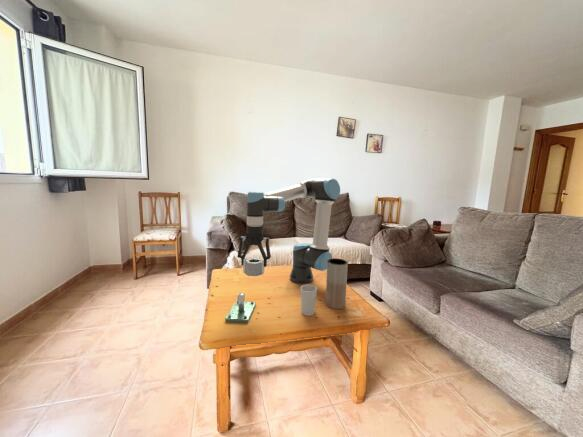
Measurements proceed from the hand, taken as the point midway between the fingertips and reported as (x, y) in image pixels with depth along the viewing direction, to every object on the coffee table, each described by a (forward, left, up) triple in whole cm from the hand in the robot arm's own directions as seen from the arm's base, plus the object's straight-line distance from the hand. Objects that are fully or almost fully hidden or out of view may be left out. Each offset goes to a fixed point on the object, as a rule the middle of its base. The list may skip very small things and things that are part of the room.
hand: (253, 272), depth 113 cm
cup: (-26, 0, -18) cm, 32 cm away
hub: (0, 0, 0) cm, 0 cm away
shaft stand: (+5, +4, -18) cm, 19 cm away
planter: (-40, -9, -18) cm, 45 cm away
